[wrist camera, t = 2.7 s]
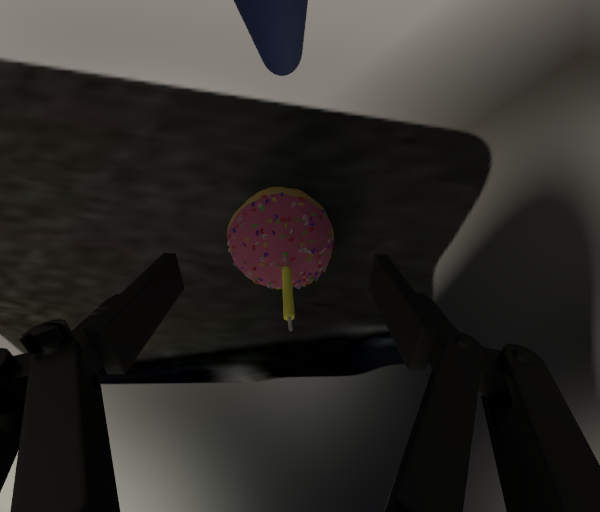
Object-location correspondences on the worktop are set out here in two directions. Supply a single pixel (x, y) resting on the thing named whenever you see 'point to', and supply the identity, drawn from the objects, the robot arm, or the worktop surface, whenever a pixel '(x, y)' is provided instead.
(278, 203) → the cupcake
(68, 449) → the robot arm
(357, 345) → the worktop surface
